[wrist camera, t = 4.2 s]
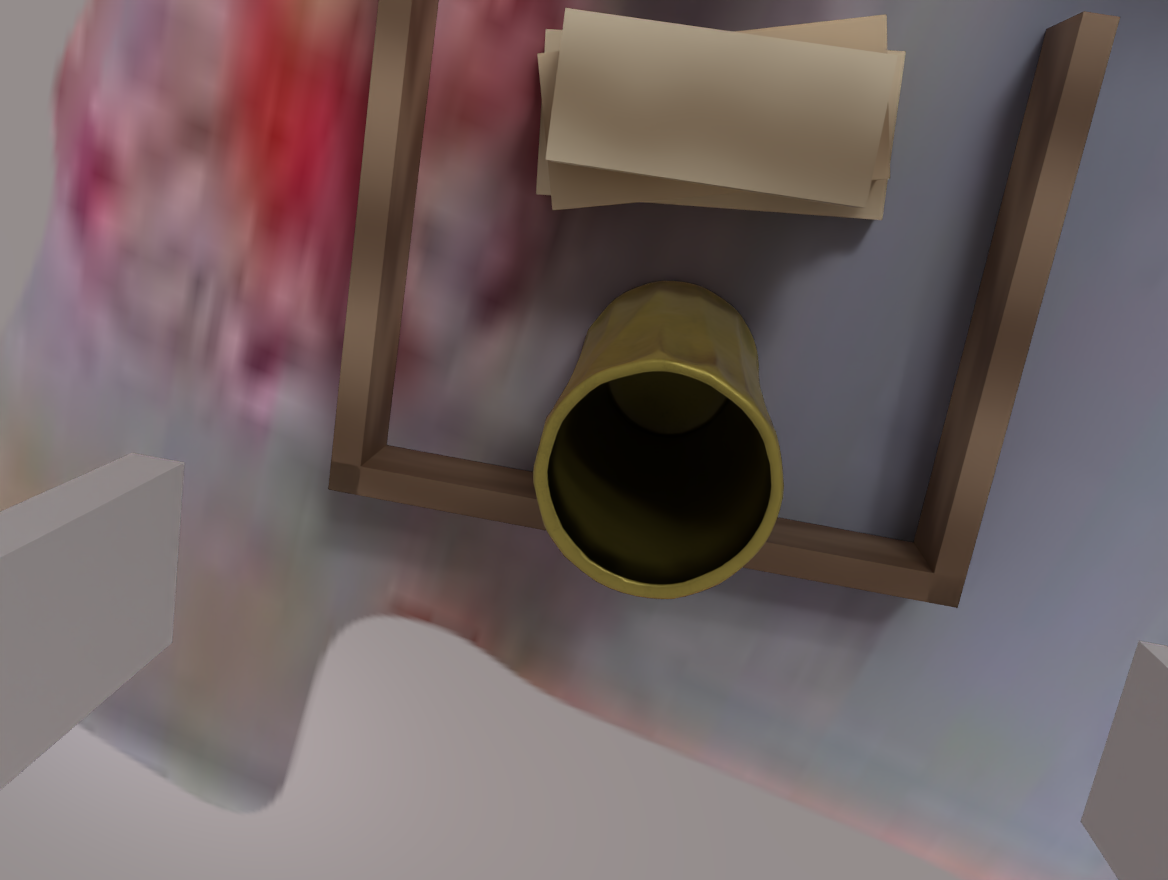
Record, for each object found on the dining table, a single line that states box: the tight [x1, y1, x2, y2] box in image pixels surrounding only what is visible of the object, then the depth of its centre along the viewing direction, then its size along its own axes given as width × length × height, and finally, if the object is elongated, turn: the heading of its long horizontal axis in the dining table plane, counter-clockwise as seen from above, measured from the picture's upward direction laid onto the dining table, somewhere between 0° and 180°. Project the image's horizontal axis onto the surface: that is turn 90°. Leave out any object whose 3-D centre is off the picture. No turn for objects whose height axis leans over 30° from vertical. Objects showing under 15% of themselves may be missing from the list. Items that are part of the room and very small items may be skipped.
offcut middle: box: [537, 15, 890, 210], centre depth 30 cm, size 4×10×2 cm, turn 95°
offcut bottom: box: [536, 29, 906, 220], centre depth 32 cm, size 5×11×2 cm, turn 86°
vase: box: [533, 281, 784, 599], centre depth 28 cm, size 6×6×14 cm
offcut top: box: [545, 8, 898, 208], centre depth 28 cm, size 4×9×2 cm, turn 82°
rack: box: [328, 0, 1120, 608], centre depth 32 cm, size 18×21×3 cm
